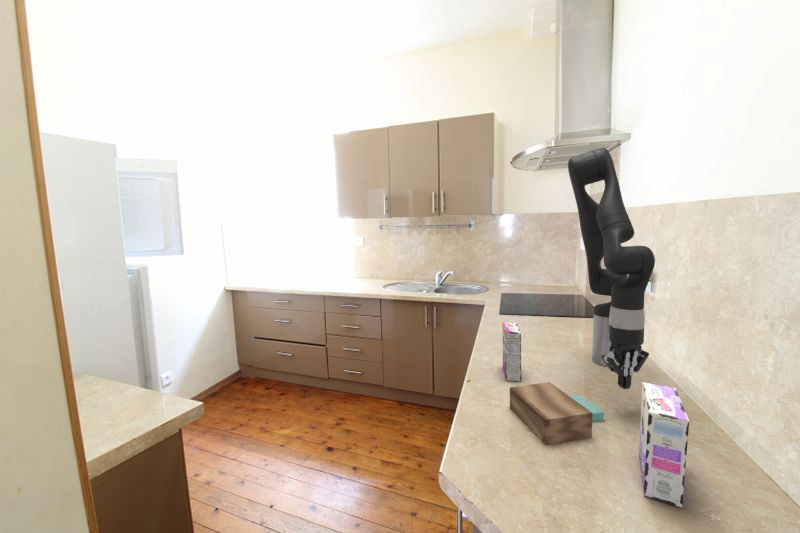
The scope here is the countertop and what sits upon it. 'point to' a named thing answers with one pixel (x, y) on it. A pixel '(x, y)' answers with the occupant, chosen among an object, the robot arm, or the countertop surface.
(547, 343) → the countertop surface
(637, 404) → the countertop surface
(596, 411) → the thin teal board
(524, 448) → the countertop surface
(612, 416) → the countertop surface
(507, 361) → the candy bar box
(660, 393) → the candy box
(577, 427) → the wood block
